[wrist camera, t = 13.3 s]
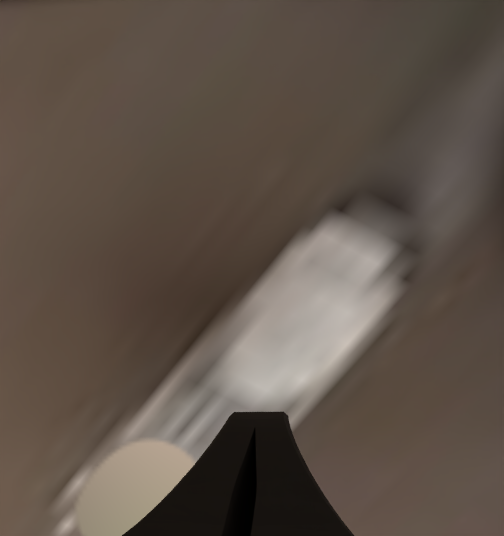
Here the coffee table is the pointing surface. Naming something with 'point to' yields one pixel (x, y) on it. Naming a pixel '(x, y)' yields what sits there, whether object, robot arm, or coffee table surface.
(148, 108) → the coffee table surface
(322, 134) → the coffee table surface
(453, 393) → the coffee table surface
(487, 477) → the coffee table surface
